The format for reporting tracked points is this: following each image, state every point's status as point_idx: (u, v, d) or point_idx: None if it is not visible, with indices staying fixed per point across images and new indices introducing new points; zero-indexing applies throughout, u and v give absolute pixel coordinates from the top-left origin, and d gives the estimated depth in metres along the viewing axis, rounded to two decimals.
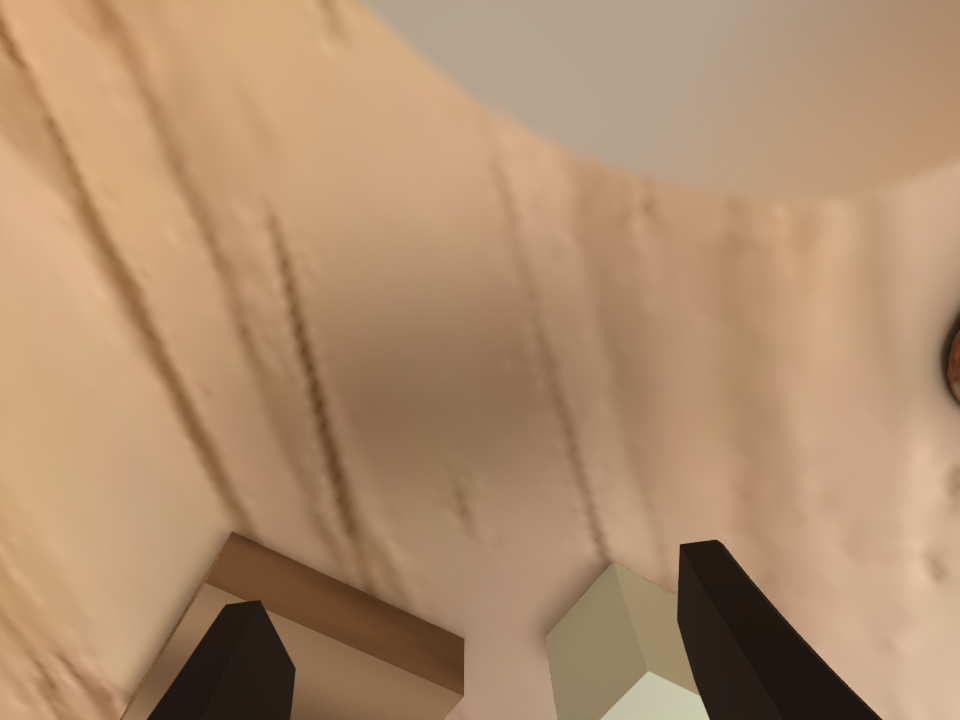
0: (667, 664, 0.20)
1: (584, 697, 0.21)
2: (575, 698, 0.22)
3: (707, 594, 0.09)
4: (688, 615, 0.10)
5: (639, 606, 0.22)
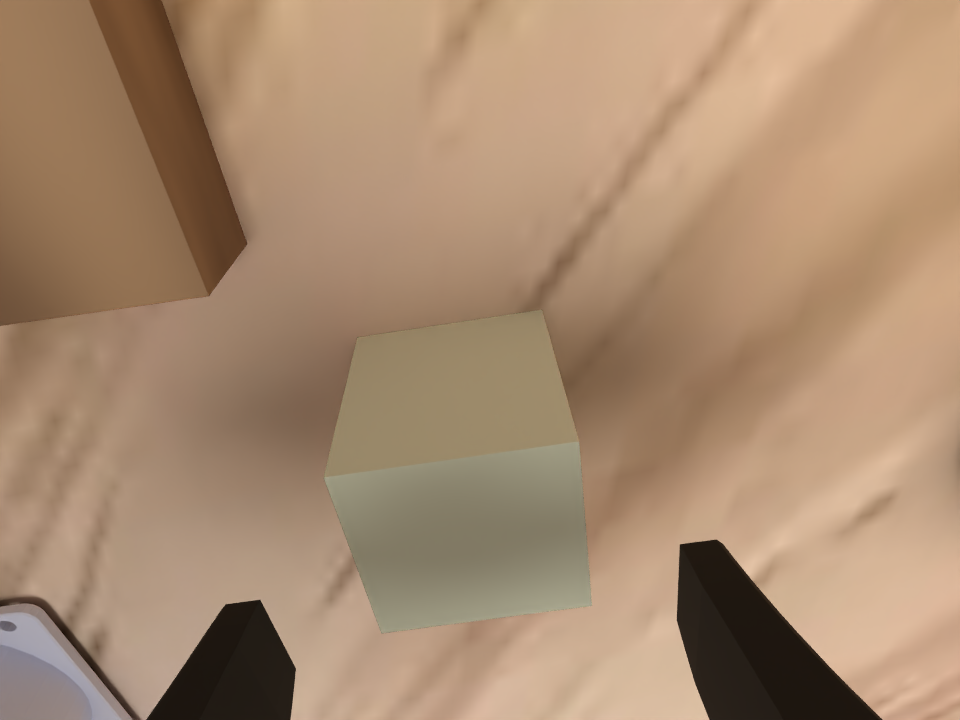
0: None
1: (412, 424, 0.12)
2: (390, 419, 0.12)
3: (707, 594, 0.09)
4: (688, 615, 0.10)
5: None
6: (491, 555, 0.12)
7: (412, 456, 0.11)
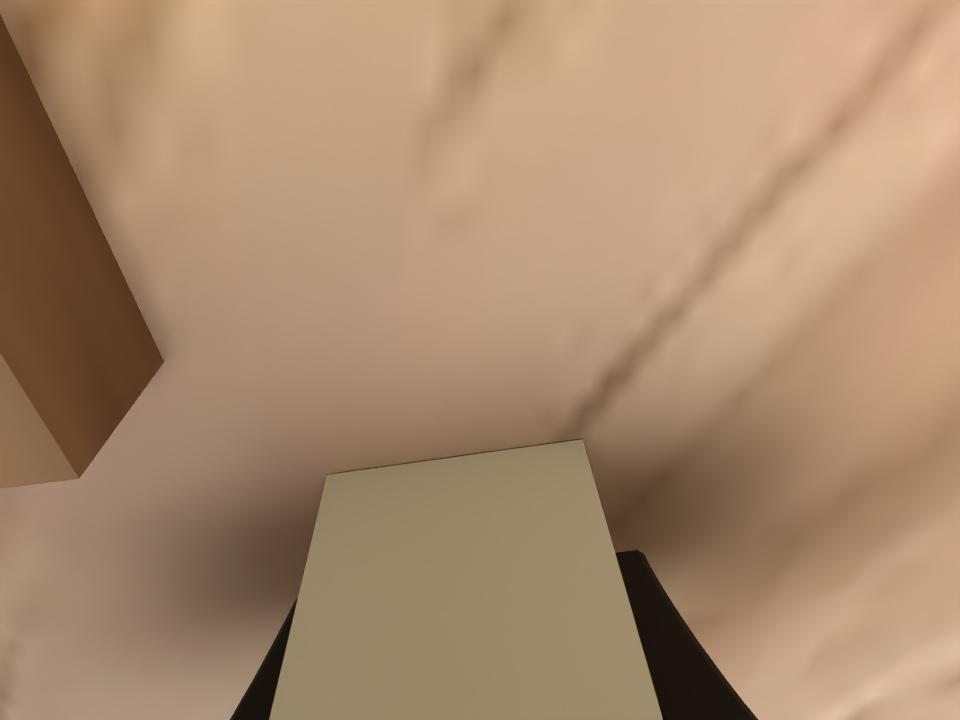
0: None
1: (398, 672, 0.08)
2: (365, 657, 0.08)
3: None
4: None
5: None
6: None
7: None
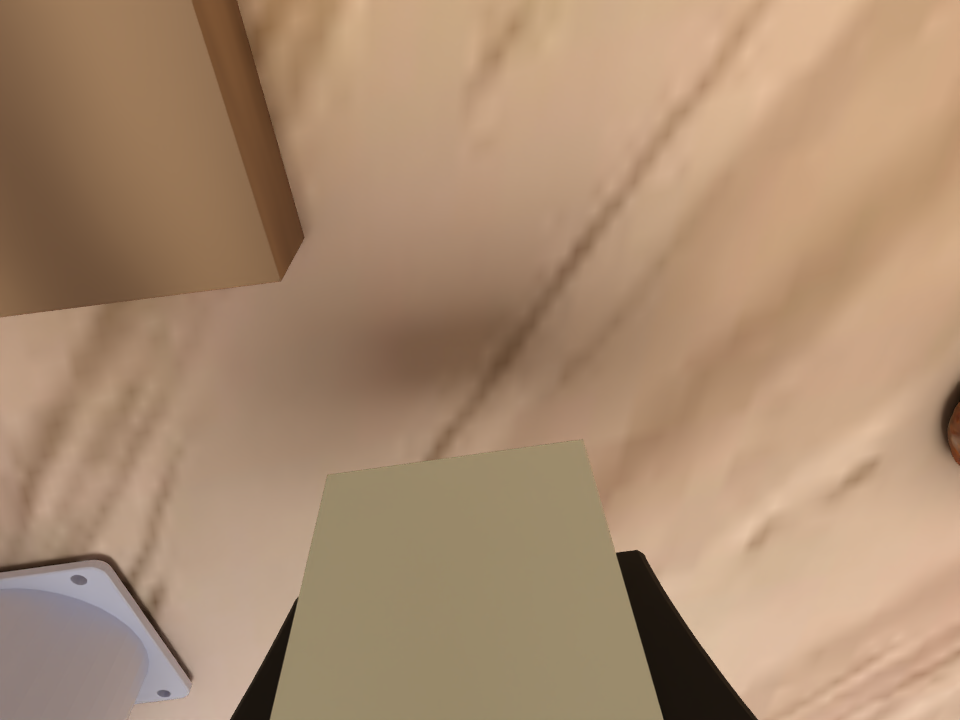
0: None
1: (398, 672, 0.08)
2: (365, 657, 0.08)
3: None
4: None
5: None
6: None
7: None
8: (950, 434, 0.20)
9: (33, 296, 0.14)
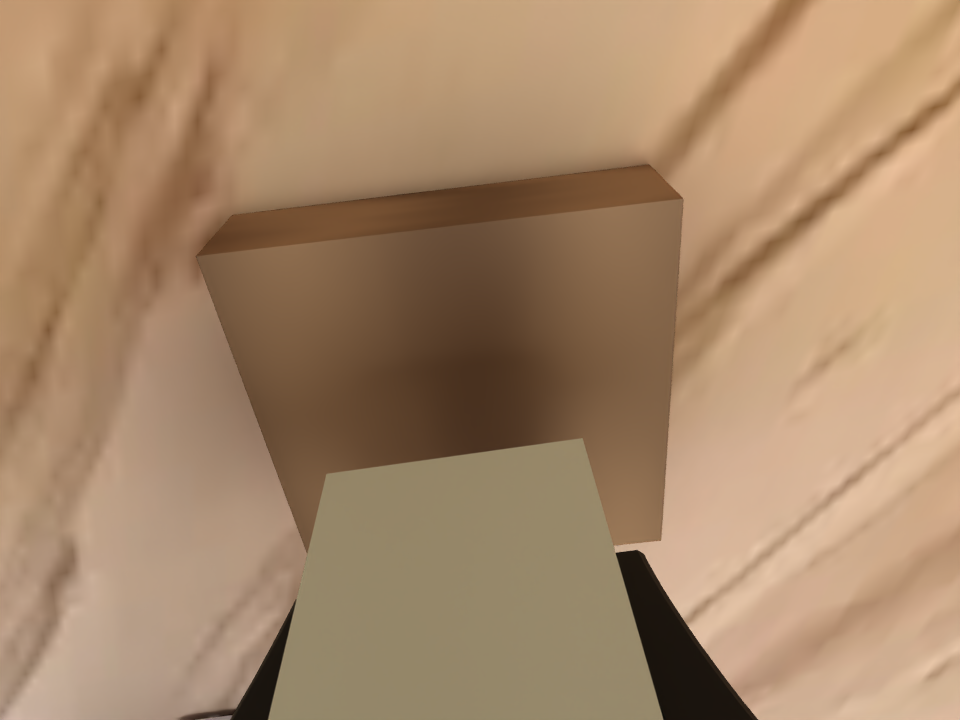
0: None
1: (397, 671, 0.08)
2: (364, 656, 0.08)
3: None
4: None
5: None
6: None
7: None
8: None
9: None
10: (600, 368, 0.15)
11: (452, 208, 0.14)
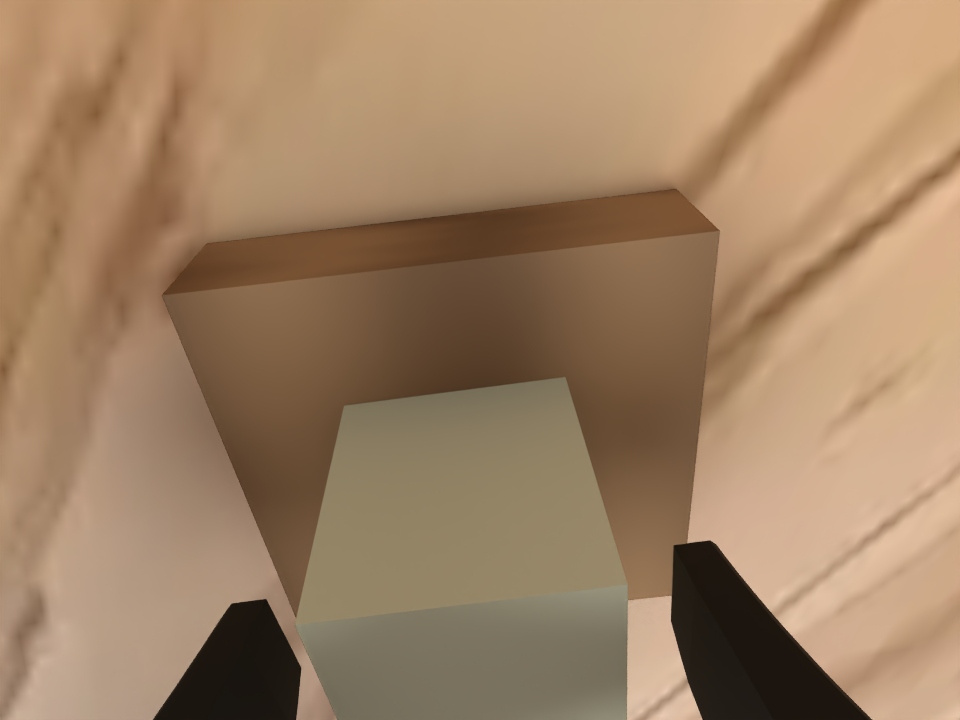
0: None
1: (410, 544, 0.09)
2: (382, 534, 0.10)
3: (700, 595, 0.09)
4: (681, 616, 0.10)
5: None
6: (507, 705, 0.10)
7: (410, 596, 0.09)
8: None
9: None
10: (621, 415, 0.13)
11: (455, 238, 0.12)
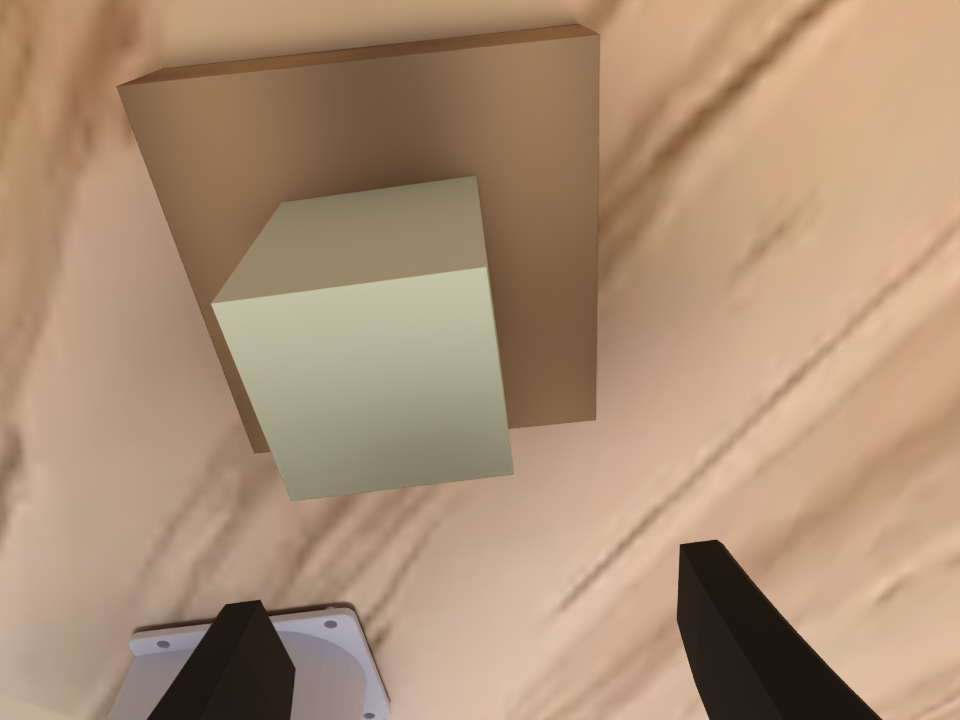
0: (491, 303, 0.11)
1: (315, 262, 0.11)
2: (295, 259, 0.11)
3: (707, 594, 0.09)
4: (688, 615, 0.10)
5: (483, 235, 0.13)
6: (401, 408, 0.11)
7: (308, 285, 0.10)
8: None
9: None
10: (526, 223, 0.15)
11: (376, 52, 0.14)
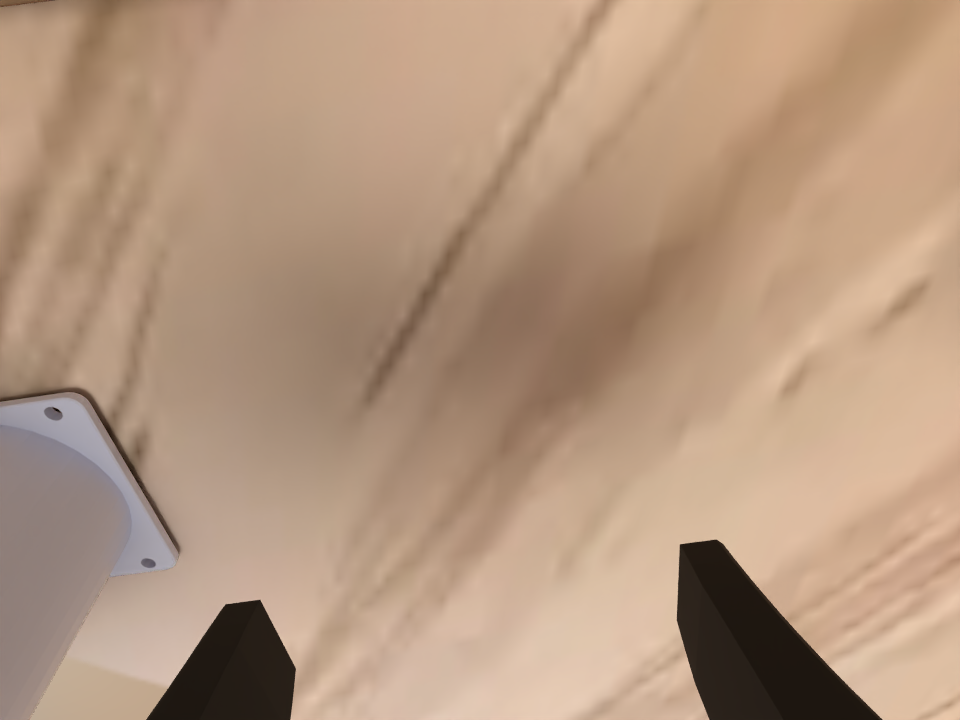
0: None
1: None
2: None
3: (707, 594, 0.09)
4: (688, 615, 0.10)
5: None
6: None
7: None
8: None
9: None
10: None
11: None
